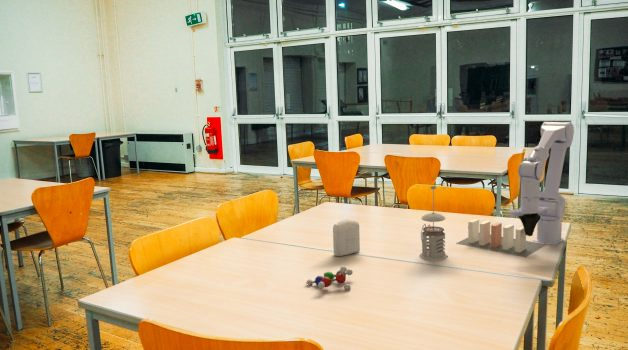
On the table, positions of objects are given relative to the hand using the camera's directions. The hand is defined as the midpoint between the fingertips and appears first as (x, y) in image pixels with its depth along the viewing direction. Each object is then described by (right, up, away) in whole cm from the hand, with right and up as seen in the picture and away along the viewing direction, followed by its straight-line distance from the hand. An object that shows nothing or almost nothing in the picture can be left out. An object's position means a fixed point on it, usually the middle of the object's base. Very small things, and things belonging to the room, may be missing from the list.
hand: (528, 235), depth 175 cm
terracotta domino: (-8, -5, +9) cm, 13 cm away
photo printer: (-62, -8, +9) cm, 63 cm away
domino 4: (-2, -6, +3) cm, 7 cm away
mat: (-6, -5, +11) cm, 13 cm away
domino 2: (-11, -5, +12) cm, 17 cm away
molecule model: (-69, -13, -20) cm, 73 cm away
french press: (-33, -8, +2) cm, 34 cm away
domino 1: (-14, -4, +15) cm, 21 cm away
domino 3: (-5, -5, +6) cm, 9 cm away
